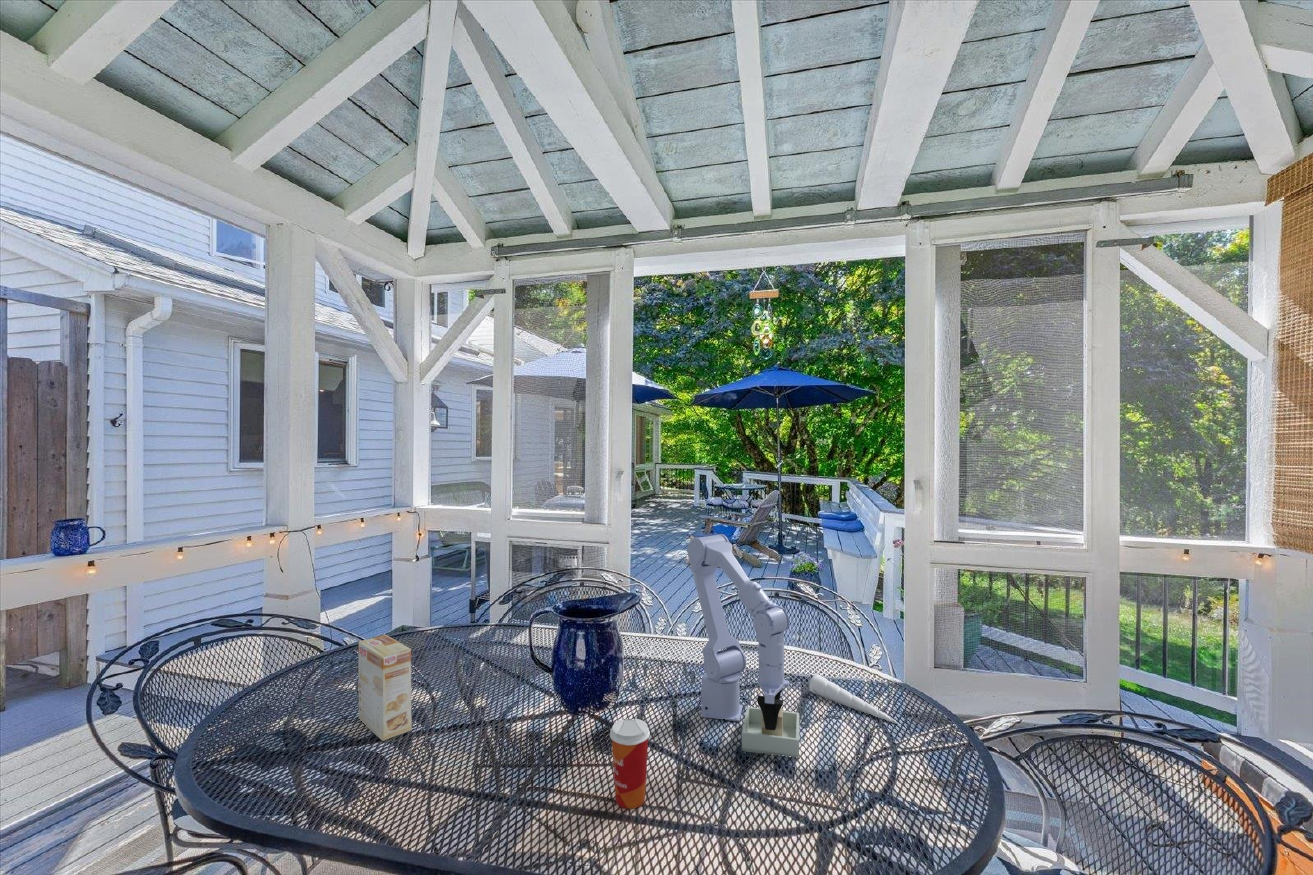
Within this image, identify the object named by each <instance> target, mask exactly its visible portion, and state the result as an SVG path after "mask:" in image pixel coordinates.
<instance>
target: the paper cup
mask: <svg viewBox="0 0 1313 875" xmlns="http://www.w3.org/2000/svg"><path fill="white" fill-rule="evenodd" d="M650 735H651V732H650V729H649V727H648V724H647V722H645V721H644V720H643V719H640V718H634V719H633V718H626V719H624V718H622V719H619V720H617V721H616V722H614V724H613V725H612V726H611V730H610V731H609V737H610V739H611V747H612V748H611V749H612V750H611V751H612V765H613V766H612V767H613V780H614V781H613V782H614V795H615V796H614V798H615V802H616V804H617V805H618V806H619V807H620V808H622V809H626V810H634V809H638V808H639V807H641V806H643V804H644V803H645V800H646V784H647V769H648V768H647V767H648V747H649V737H650Z"/></svg>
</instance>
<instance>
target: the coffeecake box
mask: <svg viewBox="0 0 1313 875" xmlns="http://www.w3.org/2000/svg"><path fill="white" fill-rule="evenodd" d="M357 644H358V646H357V647H358V649H357V650H358V651H357V653H358V657H357V658H358V660H357V661H358V720H359V719H360V720H361V721H362V722H363V723H364V724H365V725H366V728H367V729H369V730H370V732H372V733H373V734H374V735H375V736H376V737H377V738H378V739H380V740H381V741H382V742H384V741H387V740H389V739H391V738H395V737H398V736H401V735H402V734H405V733H408V732H410V731H412V730H413V729H412V648H410V647H409V646H406V645H404V644H403V643H402V642H400V641H398V640H396V639H394V638H392V637H390V636H389V635H387V634H383V635H380V636H374V637H372V638H368V639H367V638H366V639H363V640H359V641H358V642H357ZM360 720H359V721H360ZM361 721H360V722H361ZM362 722H361V723H362ZM363 723H362V724H363ZM365 725H364V726H365Z"/></svg>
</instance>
